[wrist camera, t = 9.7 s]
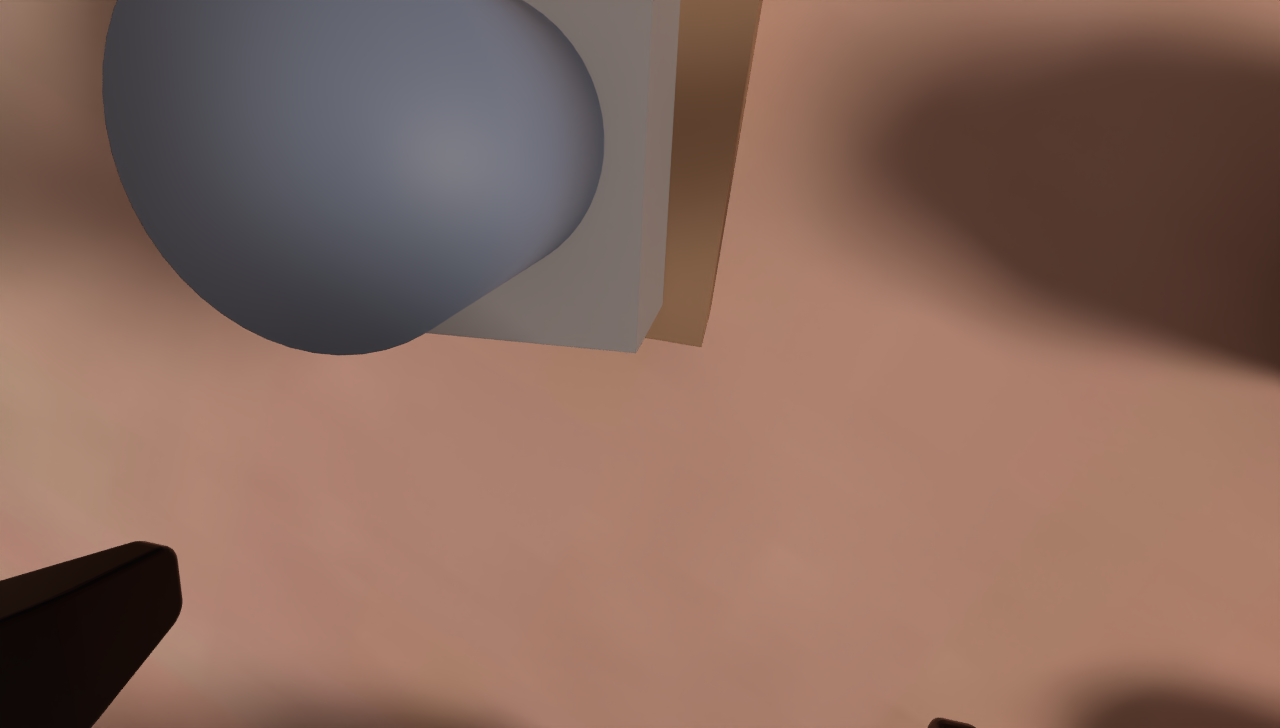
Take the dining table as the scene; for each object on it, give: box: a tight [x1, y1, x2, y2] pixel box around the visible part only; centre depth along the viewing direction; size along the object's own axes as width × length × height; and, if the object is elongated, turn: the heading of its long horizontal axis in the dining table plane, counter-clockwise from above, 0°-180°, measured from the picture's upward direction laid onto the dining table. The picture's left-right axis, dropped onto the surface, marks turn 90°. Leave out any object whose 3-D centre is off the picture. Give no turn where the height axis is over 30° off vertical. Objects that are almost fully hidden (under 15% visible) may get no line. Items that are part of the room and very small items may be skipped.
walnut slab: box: [645, 0, 763, 347], centre depth 16 cm, size 8×8×4 cm
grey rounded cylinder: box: [103, 0, 604, 355], centre depth 9 cm, size 4×4×4 cm
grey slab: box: [427, 0, 680, 353], centre depth 13 cm, size 6×6×4 cm
